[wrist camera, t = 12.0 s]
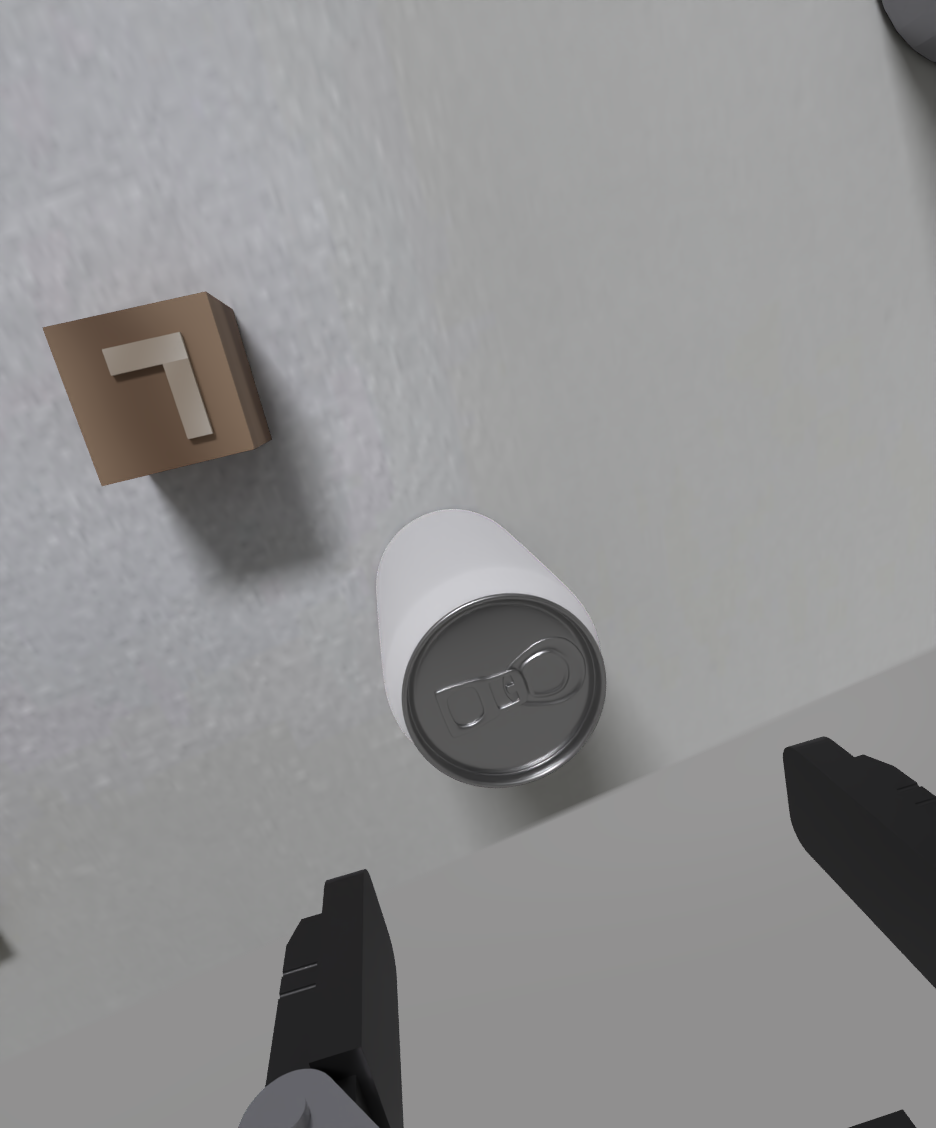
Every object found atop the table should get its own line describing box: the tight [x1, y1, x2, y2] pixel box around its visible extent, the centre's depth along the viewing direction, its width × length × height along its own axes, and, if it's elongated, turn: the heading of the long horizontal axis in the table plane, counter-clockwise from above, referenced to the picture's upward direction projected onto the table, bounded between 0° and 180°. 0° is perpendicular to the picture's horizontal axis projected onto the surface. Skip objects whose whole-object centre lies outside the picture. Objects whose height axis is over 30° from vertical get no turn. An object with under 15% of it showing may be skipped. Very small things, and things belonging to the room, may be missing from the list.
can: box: [376, 509, 606, 788], centre depth 25 cm, size 6×6×12 cm
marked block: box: [43, 292, 272, 486], centre depth 25 cm, size 5×5×5 cm
